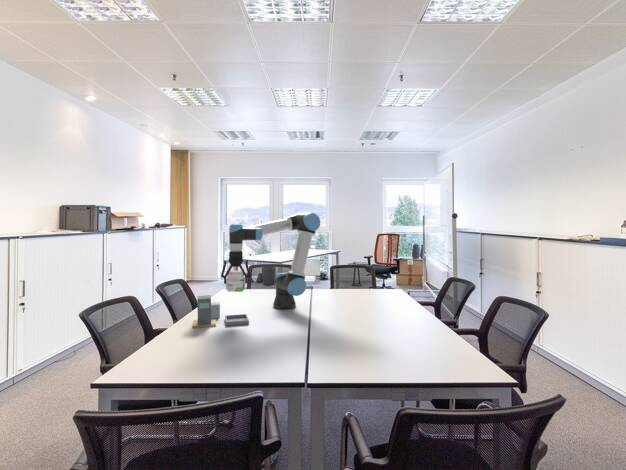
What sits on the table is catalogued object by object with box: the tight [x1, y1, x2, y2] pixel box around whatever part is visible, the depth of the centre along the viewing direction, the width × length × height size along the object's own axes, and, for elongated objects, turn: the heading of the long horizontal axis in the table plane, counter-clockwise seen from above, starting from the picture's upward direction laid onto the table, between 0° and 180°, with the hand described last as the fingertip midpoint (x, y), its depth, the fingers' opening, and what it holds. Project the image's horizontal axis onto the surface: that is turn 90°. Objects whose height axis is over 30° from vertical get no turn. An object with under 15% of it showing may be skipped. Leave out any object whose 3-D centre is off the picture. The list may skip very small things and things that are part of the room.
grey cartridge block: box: [211, 301, 221, 319], centre depth 205 cm, size 5×6×8 cm
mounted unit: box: [192, 295, 217, 329], centre depth 190 cm, size 12×12×15 cm
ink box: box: [226, 270, 245, 293], centre depth 198 cm, size 9×5×12 cm, turn 84°
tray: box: [224, 313, 250, 327], centre depth 194 cm, size 12×13×2 cm
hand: (235, 289), depth 198 cm, fingers closed on ink box, 9 cm apart
